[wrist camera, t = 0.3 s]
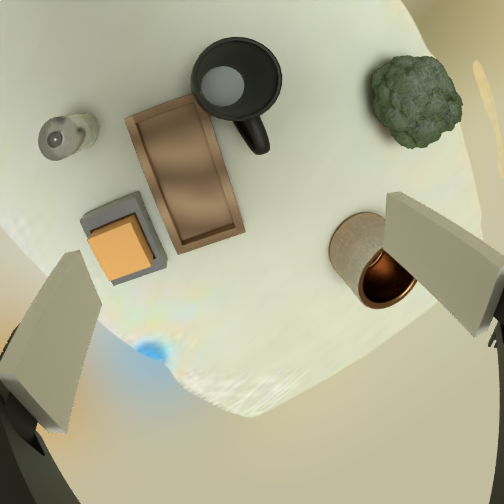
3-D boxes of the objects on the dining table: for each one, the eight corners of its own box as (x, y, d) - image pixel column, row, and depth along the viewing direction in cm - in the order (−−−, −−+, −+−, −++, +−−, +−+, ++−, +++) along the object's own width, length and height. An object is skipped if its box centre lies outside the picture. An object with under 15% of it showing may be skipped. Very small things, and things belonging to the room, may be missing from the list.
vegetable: (425, 172, 39) (383, 153, 30) (387, 107, 42) (335, 73, 33) (487, 134, 30) (469, 95, 21) (441, 68, 33) (402, 18, 24)
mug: (211, 157, 36) (223, 172, 27) (177, 67, 30) (179, 51, 21) (273, 135, 36) (304, 143, 28) (244, 47, 30) (267, 27, 22)
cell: (62, 123, 29) (30, 130, 22) (92, 107, 29) (64, 109, 22) (73, 154, 31) (44, 169, 24) (103, 139, 32) (79, 150, 24)
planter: (324, 221, 42) (355, 252, 34) (387, 203, 43) (426, 229, 34) (330, 283, 47) (356, 320, 39) (387, 263, 48) (419, 295, 40)
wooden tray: (128, 118, 31) (124, 118, 29) (200, 91, 31) (201, 90, 29) (178, 247, 40) (177, 255, 38) (242, 225, 40) (245, 232, 38)
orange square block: (94, 229, 35) (87, 240, 32) (135, 212, 35) (130, 222, 32) (114, 268, 38) (109, 281, 35) (153, 254, 38) (151, 266, 35)
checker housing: (85, 213, 35) (79, 220, 33) (138, 191, 35) (134, 197, 33) (117, 276, 40) (113, 285, 38) (167, 258, 40) (166, 267, 38)
